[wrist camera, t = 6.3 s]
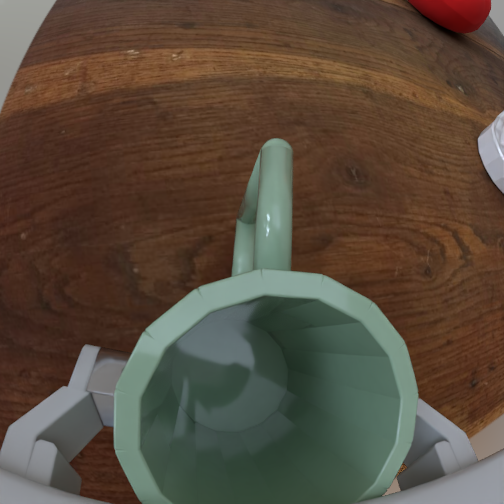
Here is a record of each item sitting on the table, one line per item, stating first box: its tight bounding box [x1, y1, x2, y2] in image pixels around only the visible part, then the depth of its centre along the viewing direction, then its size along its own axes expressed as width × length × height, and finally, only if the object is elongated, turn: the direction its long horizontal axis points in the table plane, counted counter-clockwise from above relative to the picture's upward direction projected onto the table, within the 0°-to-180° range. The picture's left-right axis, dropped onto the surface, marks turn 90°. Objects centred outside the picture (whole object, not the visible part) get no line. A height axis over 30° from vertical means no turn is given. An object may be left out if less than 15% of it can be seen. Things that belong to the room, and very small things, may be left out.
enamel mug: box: [114, 138, 418, 504], centre depth 10 cm, size 10×6×9 cm, turn 176°
